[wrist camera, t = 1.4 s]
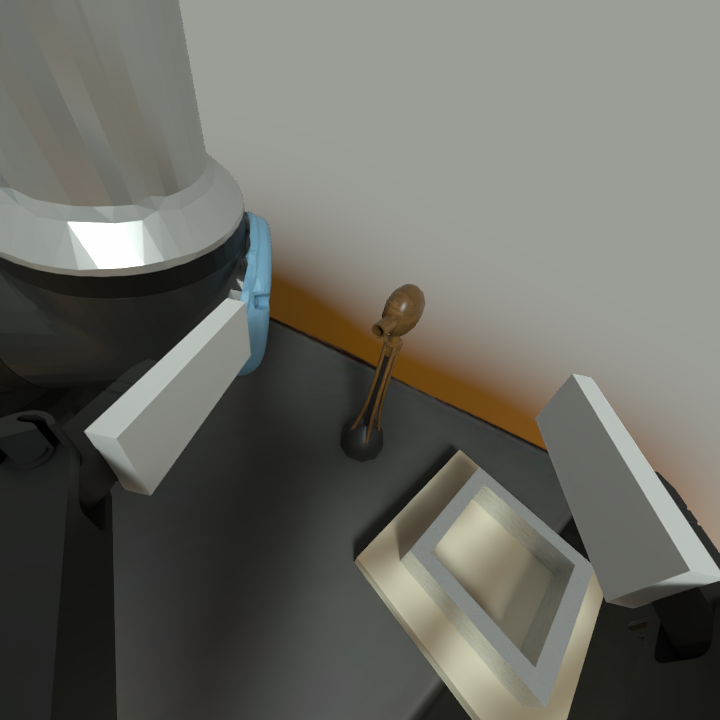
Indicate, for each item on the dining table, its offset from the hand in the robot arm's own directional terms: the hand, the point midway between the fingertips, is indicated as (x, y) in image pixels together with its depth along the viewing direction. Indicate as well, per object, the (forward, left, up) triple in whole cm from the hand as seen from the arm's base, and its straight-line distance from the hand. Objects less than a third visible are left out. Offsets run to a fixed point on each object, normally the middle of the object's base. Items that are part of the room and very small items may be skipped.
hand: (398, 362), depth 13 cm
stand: (+11, +8, -22) cm, 25 cm away
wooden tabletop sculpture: (-5, +8, -22) cm, 24 cm away
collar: (+10, +8, -20) cm, 24 cm away
